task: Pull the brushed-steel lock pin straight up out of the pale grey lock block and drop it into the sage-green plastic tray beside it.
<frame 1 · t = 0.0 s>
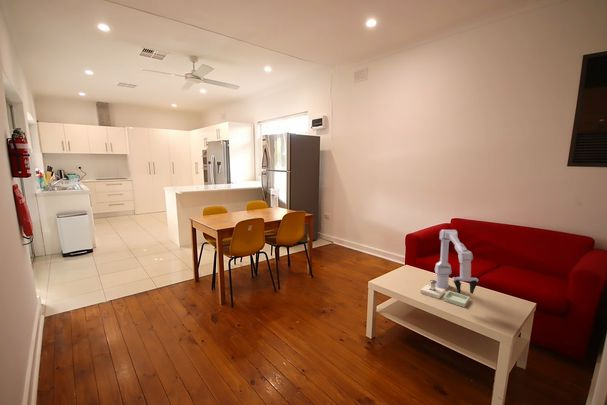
hand: (465, 293, 169), 10 cm above the table, tool pointing down, fingers open, 7 cm apart
pin tray: (456, 300, 181), on the table
lock pin: (432, 287, 191), in the lock block
lock block: (432, 292, 191), on the table
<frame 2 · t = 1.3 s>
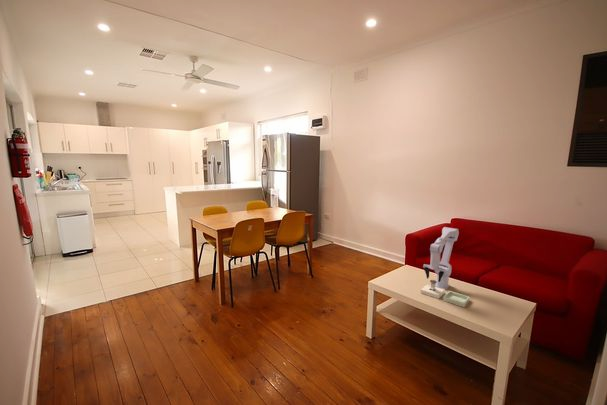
hand: (433, 279, 190), 10 cm above the table, tool pointing down, fingers open, 7 cm apart
nothing on the table moved.
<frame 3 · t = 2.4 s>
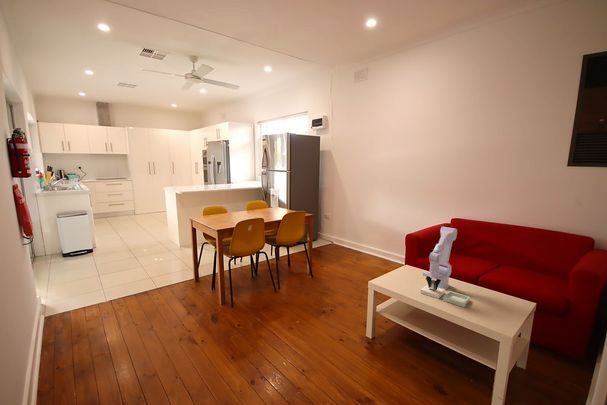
hand: (432, 288, 191), 3 cm above the table, tool pointing down, fingers closed on lock pin, 4 cm apart
lock pin: (432, 287, 191), in the lock block, touching gripper
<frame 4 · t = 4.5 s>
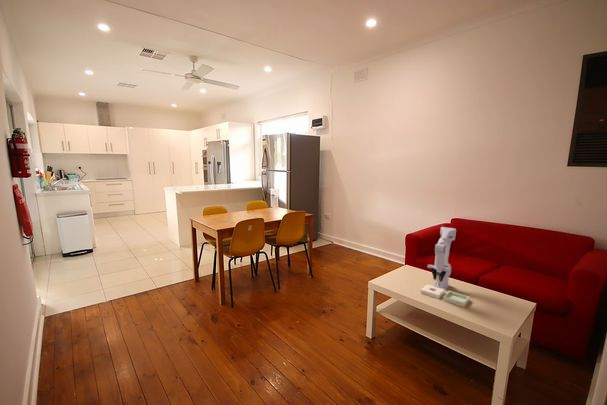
hand: (438, 280, 188), 10 cm above the table, tool pointing down, fingers closed on lock pin, 4 cm apart
lock pin: (437, 279, 188), point 11 cm above the table, touching gripper
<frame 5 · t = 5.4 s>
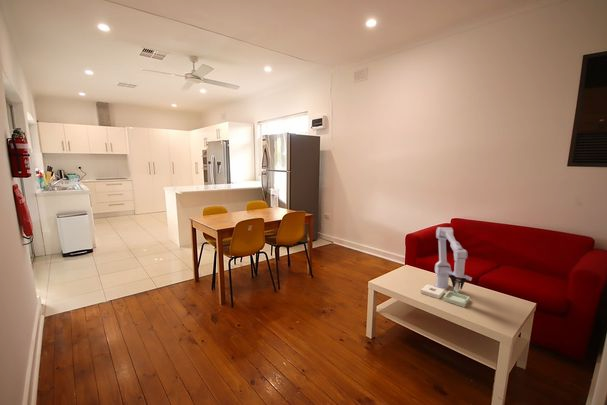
hand: (457, 287, 180), 9 cm above the table, tool pointing down, fingers closed on lock pin, 4 cm apart
lock pin: (456, 286, 180), point 10 cm above the table, touching gripper
when the fingers open (5 cm above the table, at t = 6.4 s): lock pin stays where it is, resting on pin tray.
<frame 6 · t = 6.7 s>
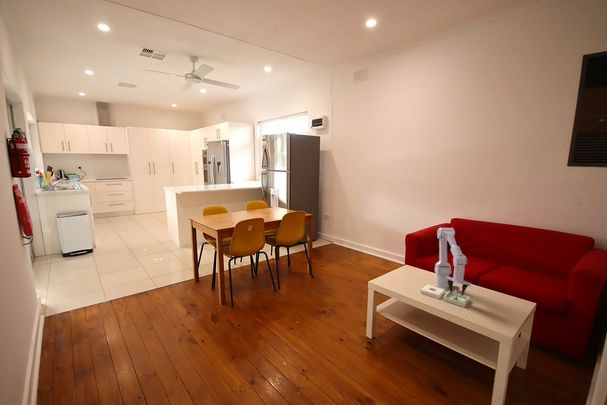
hand: (456, 293, 180), 5 cm above the table, tool pointing down, fingers open, 6 cm apart
lock pin: (455, 293, 181), in the pin tray
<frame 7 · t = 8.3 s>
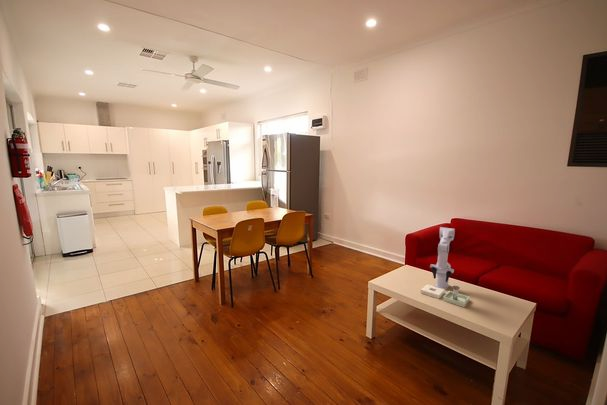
hand: (440, 279, 188), 10 cm above the table, tool pointing down, fingers open, 7 cm apart
nothing on the table moved.
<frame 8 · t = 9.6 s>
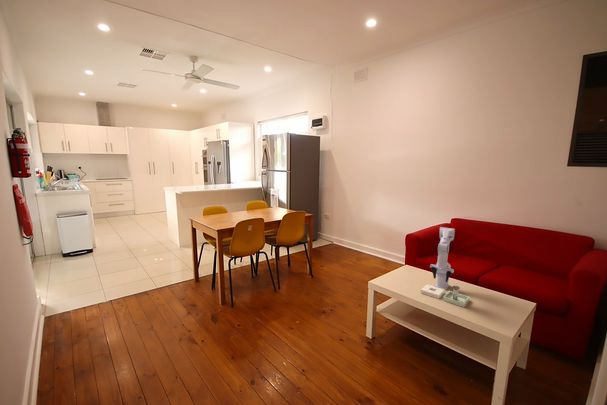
hand: (440, 279, 188), 10 cm above the table, tool pointing down, fingers open, 7 cm apart
nothing on the table moved.
at the end: lock pin inside the target area on the pin tray (0.7 cm from its centre), point 4.8 cm above the pin tray's base; the gripper is holding nothing; lock pin moved 14.4 cm from its start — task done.
